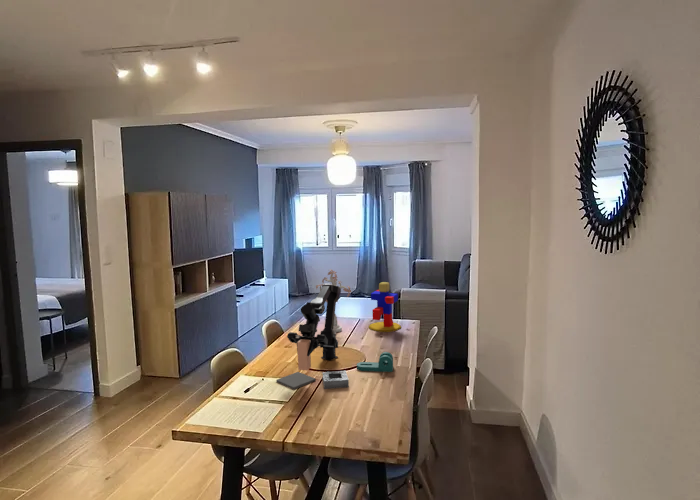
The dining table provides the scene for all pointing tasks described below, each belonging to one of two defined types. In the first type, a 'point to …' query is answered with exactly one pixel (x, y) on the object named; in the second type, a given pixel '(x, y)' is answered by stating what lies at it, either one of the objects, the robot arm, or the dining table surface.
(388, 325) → the figurine
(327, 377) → the socket block
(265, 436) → the dining table surface
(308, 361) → the peg
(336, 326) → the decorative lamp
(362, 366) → the bracket
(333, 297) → the robot arm
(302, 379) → the mat
